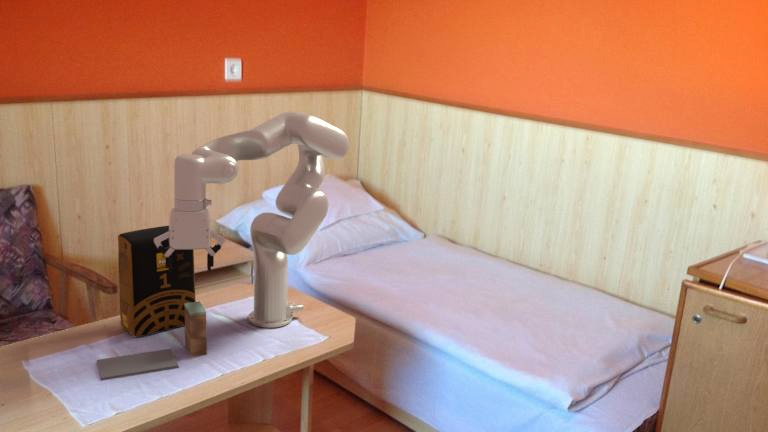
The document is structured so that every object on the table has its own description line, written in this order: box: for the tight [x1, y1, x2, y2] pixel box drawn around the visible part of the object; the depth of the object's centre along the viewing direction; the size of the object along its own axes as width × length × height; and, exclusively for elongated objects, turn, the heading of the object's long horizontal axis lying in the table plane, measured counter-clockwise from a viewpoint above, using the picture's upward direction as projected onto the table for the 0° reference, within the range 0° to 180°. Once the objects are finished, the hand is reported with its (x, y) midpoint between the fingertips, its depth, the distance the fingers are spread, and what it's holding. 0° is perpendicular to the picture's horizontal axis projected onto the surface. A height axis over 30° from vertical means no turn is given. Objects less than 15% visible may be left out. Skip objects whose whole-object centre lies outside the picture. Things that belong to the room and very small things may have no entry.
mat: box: [96, 347, 180, 381], centre depth 180 cm, size 18×10×1 cm, turn 116°
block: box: [184, 301, 208, 358], centre depth 188 cm, size 4×7×12 cm, turn 26°
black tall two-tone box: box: [117, 225, 197, 338], centre depth 199 cm, size 11×19×28 cm, turn 130°
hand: (189, 269), depth 185 cm, fingers open, 9 cm apart
